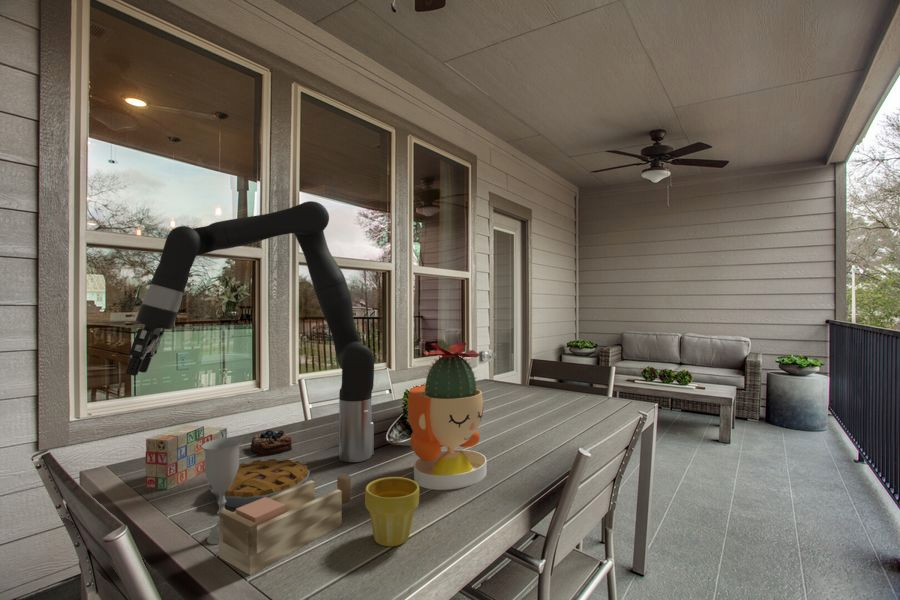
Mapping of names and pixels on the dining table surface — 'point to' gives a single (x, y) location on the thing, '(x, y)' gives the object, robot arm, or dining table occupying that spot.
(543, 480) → the dining table surface
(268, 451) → the pastry
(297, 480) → the pie
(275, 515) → the pull block
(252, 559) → the light wooden box
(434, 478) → the potted cactus
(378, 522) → the plant pot
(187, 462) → the stack of blocks
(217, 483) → the chalice
